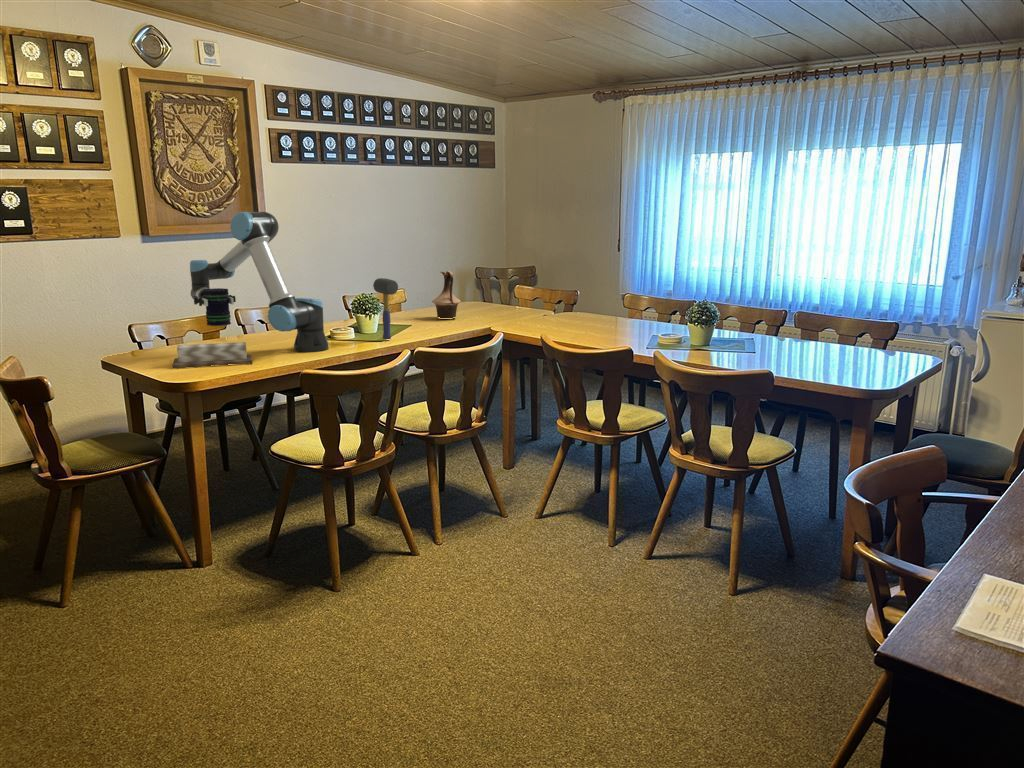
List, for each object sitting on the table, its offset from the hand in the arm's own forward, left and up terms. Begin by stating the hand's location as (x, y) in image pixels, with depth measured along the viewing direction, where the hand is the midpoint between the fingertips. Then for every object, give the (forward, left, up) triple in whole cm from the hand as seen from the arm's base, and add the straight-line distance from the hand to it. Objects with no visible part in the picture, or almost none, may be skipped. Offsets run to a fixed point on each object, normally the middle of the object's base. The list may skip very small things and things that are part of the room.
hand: (219, 302), depth 310 cm
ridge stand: (-4, +15, -23) cm, 28 cm away
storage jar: (+3, -3, -10) cm, 11 cm away
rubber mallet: (-56, -51, -23) cm, 79 cm away
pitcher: (-67, -125, -23) cm, 144 cm away
